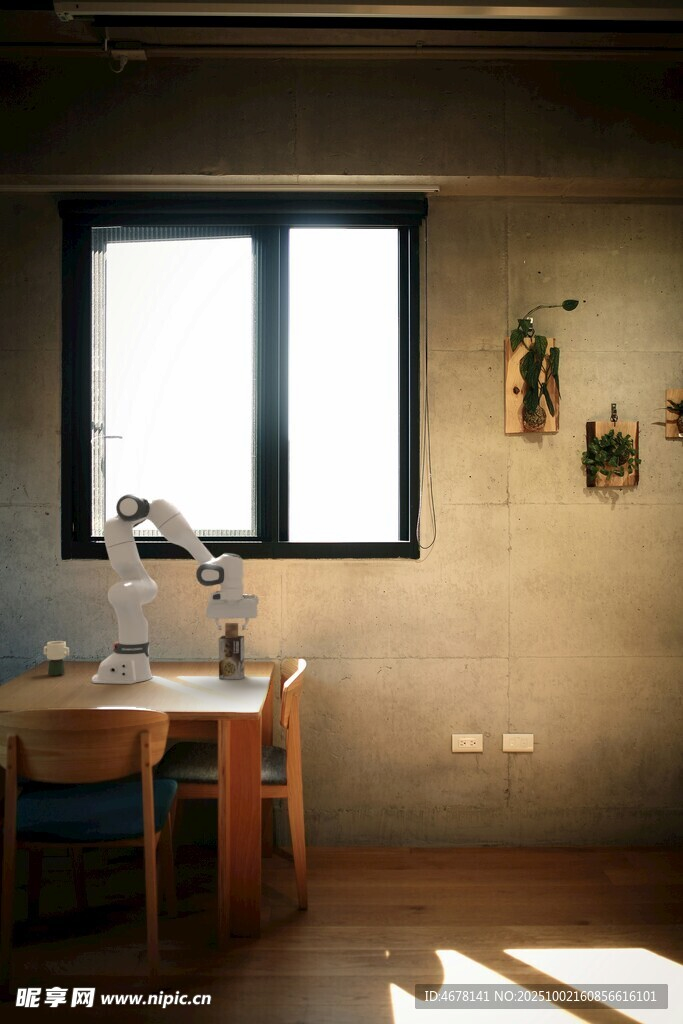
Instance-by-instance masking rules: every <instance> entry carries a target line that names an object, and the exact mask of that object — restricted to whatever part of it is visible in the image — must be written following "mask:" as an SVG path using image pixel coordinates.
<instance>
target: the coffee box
mask: <svg viewBox="0 0 683 1024" xmlns="http://www.w3.org/2000/svg"><path fill="white" fill-rule="evenodd" d="M244 677H245V635H238V638H225V635H221V636H220V637H219V638H218V679H219V678H226V679H225V680H242V679H243V678H244Z"/></svg>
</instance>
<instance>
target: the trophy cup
mask: <svg viewBox="0 0 683 1024" xmlns="http://www.w3.org/2000/svg"><path fill="white" fill-rule="evenodd" d="M66 642H67V641H63V640H54V641H48V642H46V645H45V646H44V647H43V655H45V656H46V657H47V658H46V659H47V660H50V661H49V662H48V670H47V674H48V675H50V676H61V675H62V674H66V670H65V669H66V668H65V663H64V662H65V661H64V660H63V659H65V658H66V657H67V656H70V647H68V646H67V643H66Z"/></svg>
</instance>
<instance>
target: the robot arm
mask: <svg viewBox="0 0 683 1024" xmlns="http://www.w3.org/2000/svg"><path fill="white" fill-rule="evenodd" d="M115 508H116V509H115V510H116V513H117V515H116V516H114V517H111V518H109V519H108V520H106V521H105V522H104V524H103V537H104V542H105V544H104V545H105V548H106V552H107V555H108V559H109V563H110V566H111V568H112V569H113V571H115V572H116V574H117V575H118V576H119V577H120V579H121V580H120V581H118V582H116V583H114V584H113V585H112V586H111V587H110V588H109V589H108V592H107V599H108V600H107V601H108V602H109V604H110V605H111V606H112V607H113V609H114V611H115V615H116V618H117V622H118V623H117V624H118V641H115V642H113V647H112V649H113V652H112V653H111V654H110V655H109V656H107V657H106V658H105V659H104V660H102V661H101V662H100V664H99V666H98V671H97V673H96V674H94V675H93V676H92V677H91V683H93V684H118V685H119V684H120V685H121V684H122V685H126V684H127V685H132V684H136V683H139V682H144V681H148V680H150V679H152V678H153V675H152V671H151V666H150V658H149V656H150V641H149V622H148V619H147V618H146V617H145V615H144V613H143V607H142V606H143V605H147V604H149V603H151V602H153V600H154V599H155V598H157V595H158V593H159V592H158V590H159V588H158V584H157V583H156V581H155V580H154V579H152V578H151V576H149V573H148V572H147V570H146V568H145V567H144V565H143V563H142V560H141V557H140V555H139V551H138V548H137V544H136V541H135V540H136V539H135V537H134V533H133V529H134V528H136V527H137V526H139V525H140V524H143V523H144V522H145V521H146V520H148V521H150V522H151V523H153V524H152V525H154V526H155V527H156V529H157V530H158V531H159V533H160V534H161V536H163V537H164V538H165V539H166V541H168V542H169V543H171V544H174V545H178V546H179V547H182V548H184V549H185V550H186V551H188V552H189V554H190V555H191V557H193V558H194V560H195V561H196V562H197V563H198V564H199V566H198V567H197V569H196V572H195V573H196V575H195V577H196V579H197V582H198V583H199V584H201V585H202V586H204V587H213V586H218V585H220V589H219V590H216V591H214V592H211V593H209V596H208V597H209V600H208V601H207V604H206V609H205V610H206V611H205V617H206V618H207V620H212V619H214V622H215V624H216V626H217V631H222V626H223V625H222V624H220V623H219V621H220V620H219V619H221V620H222V619H244V621H245V622H244V623H243V624H241V630H242V631H244V630H247V627H246V626H247V625H248V623H249V621H250V620H249V619H256V618H257V617H258V616H259V615H258V614H259V613H258V605H259V602H260V601H259V600H260V599H259V597H258V596H257V595H255V594H245V593H244V583H243V579H244V563H243V558H242V556H240V555H239V554H236V553H231V552H229V553H228V552H224V553H223V554H222V555H220V556H218V557H216V556H214V555H213V554H212V552H210V550H209V549H208V548H207V547H206V545H204V543H203V542H202V541H201V540H200V539H199V537H198V536H197V535H196V534H195V532H194V530H193V529H192V526H190V523H189V522H188V520H187V519H186V517H185V516H184V515H183V513H182V512H181V511H180V509H178V507H177V506H175V504H174V503H173V502H171V500H170V499H168V498H167V497H165V496H163V495H159V496H156V497H154V498H152V499H151V500H148V499H146V498H144V497H142V496H140V495H137V494H132V493H129V494H125V495H122V496H121V497H120V498H119V499H118V500H117V503H116V506H115Z"/></svg>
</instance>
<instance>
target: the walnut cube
mask: <svg viewBox="0 0 683 1024" xmlns="http://www.w3.org/2000/svg"><path fill="white" fill-rule="evenodd" d="M224 636H225V638H238V636H239V622H225V624H224Z"/></svg>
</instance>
